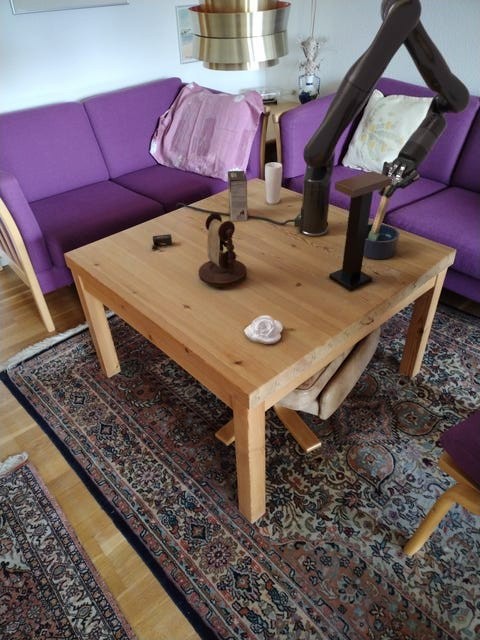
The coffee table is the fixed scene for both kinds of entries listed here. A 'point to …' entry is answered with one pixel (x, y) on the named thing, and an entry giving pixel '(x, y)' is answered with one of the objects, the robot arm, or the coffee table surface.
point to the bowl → (382, 243)
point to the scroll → (221, 255)
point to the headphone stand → (357, 226)
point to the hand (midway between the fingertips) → (383, 195)
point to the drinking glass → (273, 182)
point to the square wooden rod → (379, 217)
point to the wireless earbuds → (161, 241)
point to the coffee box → (237, 195)
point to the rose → (264, 330)
